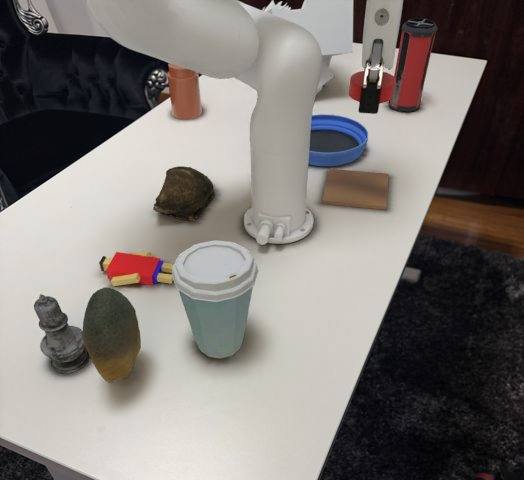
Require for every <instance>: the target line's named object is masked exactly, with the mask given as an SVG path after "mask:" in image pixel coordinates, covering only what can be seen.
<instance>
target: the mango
mask: <svg viewBox="0 0 524 480" xmlns="http://www.w3.org/2000/svg"><path fill="white" fill-rule="evenodd" d="M82 331H83V335H82V337H83V343H84V346H85V348H86V350H87V351H88V353H89V355H90V359H91V361H92V364H93V366H94V367H95V369H96V371H97V373H98V374H99V375H100V377H101V379H103V381H104V382H105V383H107V384H113V383H115V382H118V381H120V380H121V379H122V380H126V379H127V378H128V377H129V375H130V374H131V373H132V371H133V369H134V366H135V363H136V362H137V361H136V360H137V358H138V355H139V354H140V350H141V348H142V344H141V343H142V340H141V338H142V337H141V330H140V327H139V320H138V316H137V311H136V308H135V307H134V306H133V304H132V303H131V301H130V300H129V298H127V297H126V295H124V294H123V293H122V292H120V291H118V290H117V289H115V288H112V287H108V286H107V287H102V288H99V289H97V290H96V291H95V292H93V293H92V295H91V296H90V298H89V299H88V302H87V305H86V308H85V310H84V316H83V322H82Z"/></svg>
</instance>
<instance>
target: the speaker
mask: <svg viewBox="0 0 524 480" xmlns="http://www.w3.org/2000/svg"><path fill="white" fill-rule="evenodd" d="M436 33H438V26H437V24H436V23H435V21H434V20H432V19H429V18H421V17H419V18H418V17H416V18H415V17H414V18H409V19H407V20H406V21H405V22H404V23H402V25H401V36H400V41H399V46H398V51H397V52H398V53H397V57H396V63H395V69H394V75H393V76H394V77H395V79H396V84H395V89H394V95H393V98H392V99H391V100H390V101H388V106H389V107H390V108H391V109H393V110H395V111H397V112H401V113H403V112H407V113H411V112H414V111H417V110H419V109H420V108H421V105H422V95H423V92H424V86H425V82H426V77H427V73H428V69H429V64H430V60H431V55H432V51H433V47H434V42H435V38H436Z"/></svg>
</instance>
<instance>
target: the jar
mask: <svg viewBox="0 0 524 480" xmlns="http://www.w3.org/2000/svg"><path fill="white" fill-rule="evenodd" d="M167 66H168V72H167V73H166V77H167V84H168V85H167V86H168V92H169V98H170V99H169V100H170V105H171V112H172V113H171V114H172V116H173V117H174V118H176V119H179V120H193V119H196V118H198V117H201V116H202V114H203V109H202V99H201V87H200V78H199V73H197V72H195V71H193V70H190V69H187V68H184V67H180V66H177V65H174V64H171V63H168V64H167Z"/></svg>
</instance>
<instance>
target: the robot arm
mask: <svg viewBox="0 0 524 480" xmlns="http://www.w3.org/2000/svg"><path fill="white" fill-rule="evenodd" d="M84 1H85V3H86V6H87V7H88V10H89V11H90V13H91V15H92V17H93V18H94V20H95V21H96V22H97V24H98V25H99V26H100V28H101V30H103V31H104V32H105V33H106V34H107V36H108V37H109V38H110V39H112V40H113V41H114V42H116V43H117V44H119V45H121V46H122V47H125V48H127V49H128V50H131V51H134V52H136V53H140V54H142V55H145V56H149V57H151V58H155V59H158V60H160V61H163V62H165V63H168V64H169V63H171V64H174V65H177V66H180V67H184V68H187V69H190V70H193V71H195V72H197V73H198V74H200V75H202V76H205V77H208V78H211V79H218V80H229V79H233V78H234V79H236V80H238V81H239V82H241V83H243V84H245V85H247V86H249V87H250V88H251V89H253V90H254V91H256V94H257V99H256V103H255V106H254V108H253V110H252V112H251V116H250V121H249V152H250V155H249V156H250V185H251V186H250V187H251V188H250V189H251V191H250V192H251V207H249V208H248V209H247V210H246V211H245V213H244V215H243V227H244V229H245V231H246V233H248V234H249V235H250V236H251V237H252V238H254V239H255V240H256V241H255V242H257V244H259V245H261V246H263V245H266V244H274V245H276V244H277V245H279V244H283V245H284V244H290V243H291V244H292V243H294V242H297V241H299V240H302V239H303V238H305V237H306V236H308V235H309V234H310V233H311V231H312V229H313V228H314V216H313V215H314V214H313V213H312V212H311V210H310V209H309V208H308V207H307V193H308V177H309V165H310V164H309V148H310V133H311V120H312V115H313V111H314V105H315V99H316V95H317V94H316V91H317V88H318V84H319V80H320V76H321V71H322V53H321V49H320V46H319V44H318V42H317V40H316V39H315V38H314V36H313V35H312V34H311V33H310V32H309V31H307V30H306V29H305V28H303V27H302V26H300V25H298V24H296V23H293V22H291V21H288V20H286V19H283V18H281V17H278V16H274V15H272V14H269V13H267V12H264V11H262V9H260V8H257V7H254V6H251V5H249V4H246V3H245V2H243V1H240V0H84ZM403 4H404V0H366V3H365V12H364V13H365V14H364V23H363V33H362V45H361V46H362V50H361V67H362V68H363V69H364V70H363V71H365V76H364V84H363V86H362V87H361V95H360V102H358V103H359V104H358V110H357V111H358V113H360V114H370V115H377V114H378V113H379V108H380V104H381V103H380V96H381V90H382V87H381V80H382V74H383V72H384V69H388V71H391V70H392V69H393V68H394V61H395V55H396V49H397V42H398V38H399V31H400V26H401V19H402V12H403ZM368 71H370V74H368ZM378 72H379V74H378Z"/></svg>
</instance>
